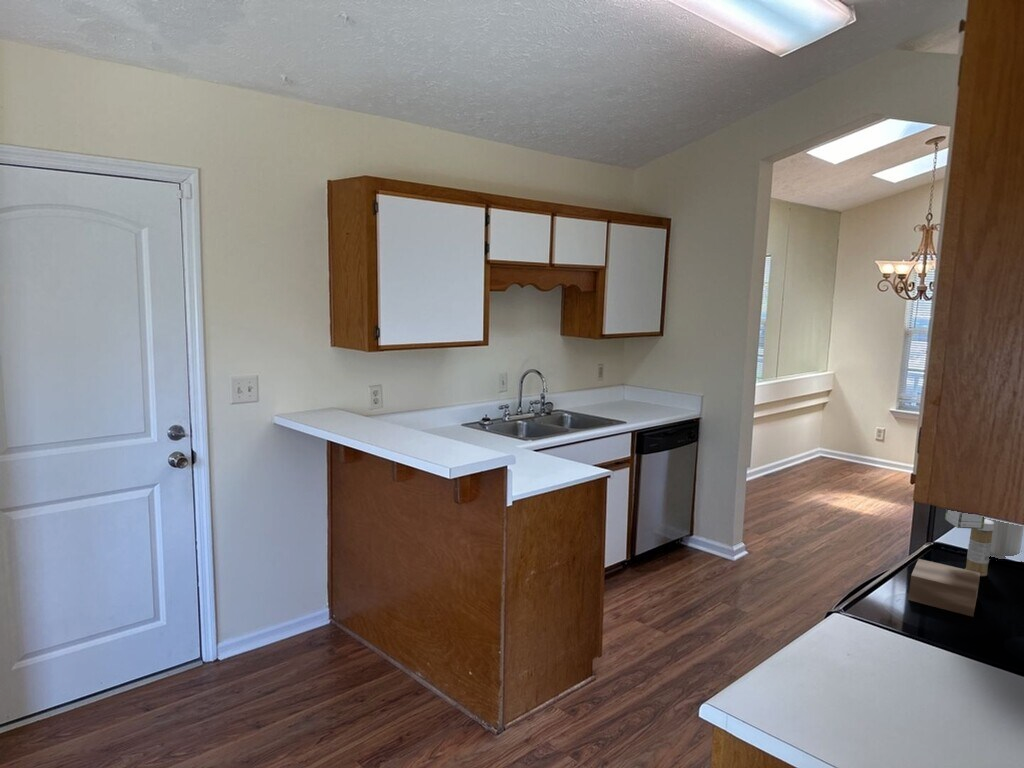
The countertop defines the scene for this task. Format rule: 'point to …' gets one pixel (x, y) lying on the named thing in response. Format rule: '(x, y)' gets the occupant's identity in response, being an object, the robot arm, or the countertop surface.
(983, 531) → the sprinkles bottle
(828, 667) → the countertop surface
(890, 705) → the countertop surface
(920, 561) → the walnut block
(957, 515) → the syrup box
